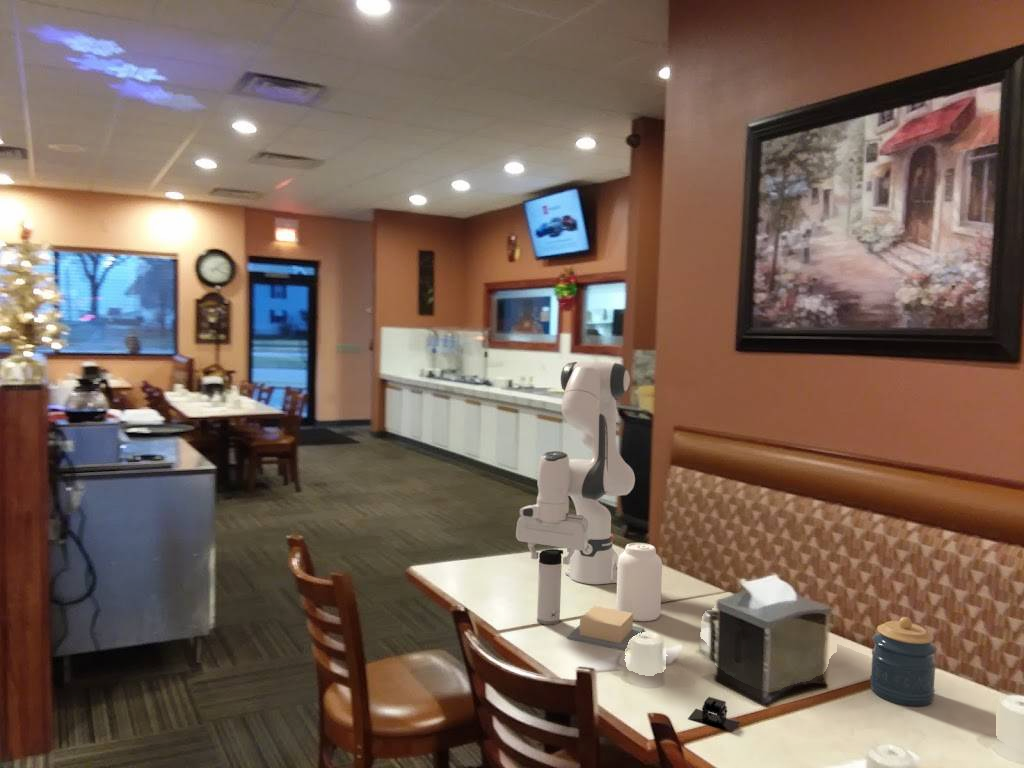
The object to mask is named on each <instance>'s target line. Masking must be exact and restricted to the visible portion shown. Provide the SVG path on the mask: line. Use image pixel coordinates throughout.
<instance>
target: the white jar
mask: <svg viewBox="0 0 1024 768" xmlns="http://www.w3.org/2000/svg"><path fill="white" fill-rule="evenodd" d="M662 576H663V561H662V558H661V557H660V556H659V554H658V553H657V550H656V547H655V546H654V545H652V544H649V543H645V542H631V543H627V544H626V545H625V548H624V550H623V551H622V553H620V555H618V571H617V583H616V598H615V599H616V602H615V610H619V611H624V612H630V613H633V622H634V621H636V622H650V621H654V620H657V619H658V618H659V617H660V615H661V602H662V601H661V600H662V582H663V581H662V580H663V579H662Z"/></svg>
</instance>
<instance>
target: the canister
mask: <svg viewBox="0 0 1024 768" xmlns="http://www.w3.org/2000/svg"><path fill="white" fill-rule="evenodd" d="M876 629H877V631H878V632H876V633H875V634H873V636H872V641H873V643H874V647H873V649H872V650H871V654H872V656H871V657H872V659H871V673H870V674H871V675H870V677H869V679H870V680H869V682H870V688H871V691H872V692H873V693H874V694H875V695H877V696H879V697H880V698H882V699H884V700H886V701H888V702H891V703H895V704H899V705H903V706H909V707H910V706H911V707H924V706H928V705H931V704H932V702H933V700H934V697H935V678H936V677H935V676H936V675H935V674H936V668H937V662H936V660H935V654H936V653H937V651H938V648H937V645H935V644H934V643H933V641H934V636H933V635H932V633H930V632H929V631H927V630H926V628H924V627H922V626H920V625H918V624H915V623H913V622H912V620H911V619H910V618H909V617H907V616H902V617H901V618H900V619H899V620H890V621H886V622H884V623H881V624H879V625H878V626H877V627H876Z"/></svg>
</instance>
